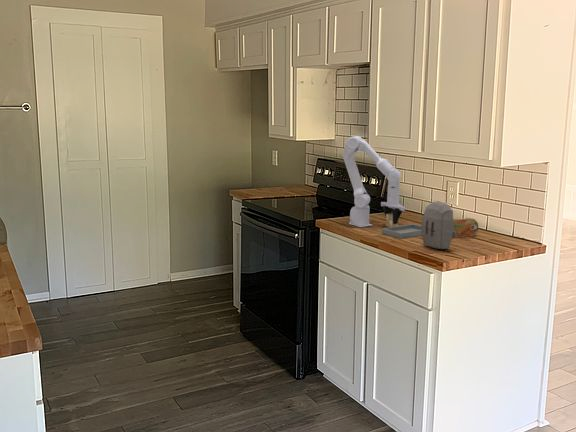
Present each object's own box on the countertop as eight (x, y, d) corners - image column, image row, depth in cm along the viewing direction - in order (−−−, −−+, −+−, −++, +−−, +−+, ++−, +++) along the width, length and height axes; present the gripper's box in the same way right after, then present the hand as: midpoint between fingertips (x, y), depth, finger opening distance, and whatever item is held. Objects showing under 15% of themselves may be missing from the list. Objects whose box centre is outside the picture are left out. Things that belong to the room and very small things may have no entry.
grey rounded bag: (455, 250, 235) (458, 203, 231) (440, 253, 231) (443, 204, 227) (429, 242, 248) (432, 197, 244) (414, 245, 244) (417, 199, 240)
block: (385, 225, 278) (386, 213, 276) (391, 225, 280) (392, 213, 279) (391, 227, 274) (392, 215, 273) (397, 226, 277) (398, 214, 275)
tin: (449, 238, 258) (450, 219, 256) (445, 236, 261) (446, 218, 259) (478, 236, 262) (479, 218, 260) (474, 234, 265) (475, 217, 263)
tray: (382, 233, 264) (382, 228, 264) (412, 228, 275) (412, 223, 275) (400, 238, 255) (400, 233, 254) (431, 233, 266) (431, 228, 265)
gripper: (410, 196, 270) (408, 224, 273) (388, 192, 282) (387, 219, 285) (399, 198, 266) (398, 226, 269) (378, 193, 278) (377, 220, 281)
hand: (391, 223), depth 277 cm, fingers closed on block, 4 cm apart
